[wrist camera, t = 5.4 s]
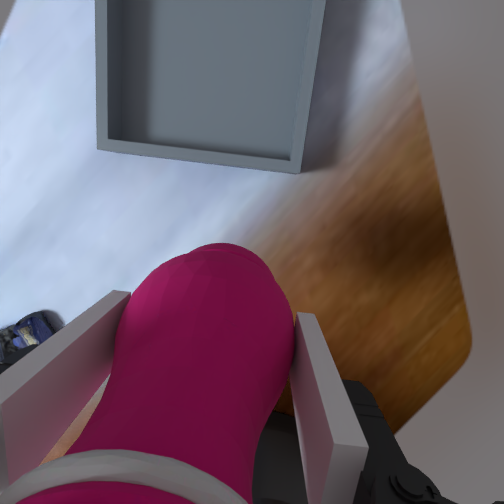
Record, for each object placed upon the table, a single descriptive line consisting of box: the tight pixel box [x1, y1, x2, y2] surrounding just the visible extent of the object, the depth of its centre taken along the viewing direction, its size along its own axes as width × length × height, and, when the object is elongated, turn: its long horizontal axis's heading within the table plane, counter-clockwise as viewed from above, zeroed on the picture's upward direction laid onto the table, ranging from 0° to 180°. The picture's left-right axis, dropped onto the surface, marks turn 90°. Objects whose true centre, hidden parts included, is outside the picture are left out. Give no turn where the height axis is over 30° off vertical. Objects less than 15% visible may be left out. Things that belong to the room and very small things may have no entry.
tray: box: [95, 0, 326, 174], centre depth 21 cm, size 15×15×3 cm
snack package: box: [0, 311, 55, 361], centre depth 28 cm, size 12×6×12 cm
